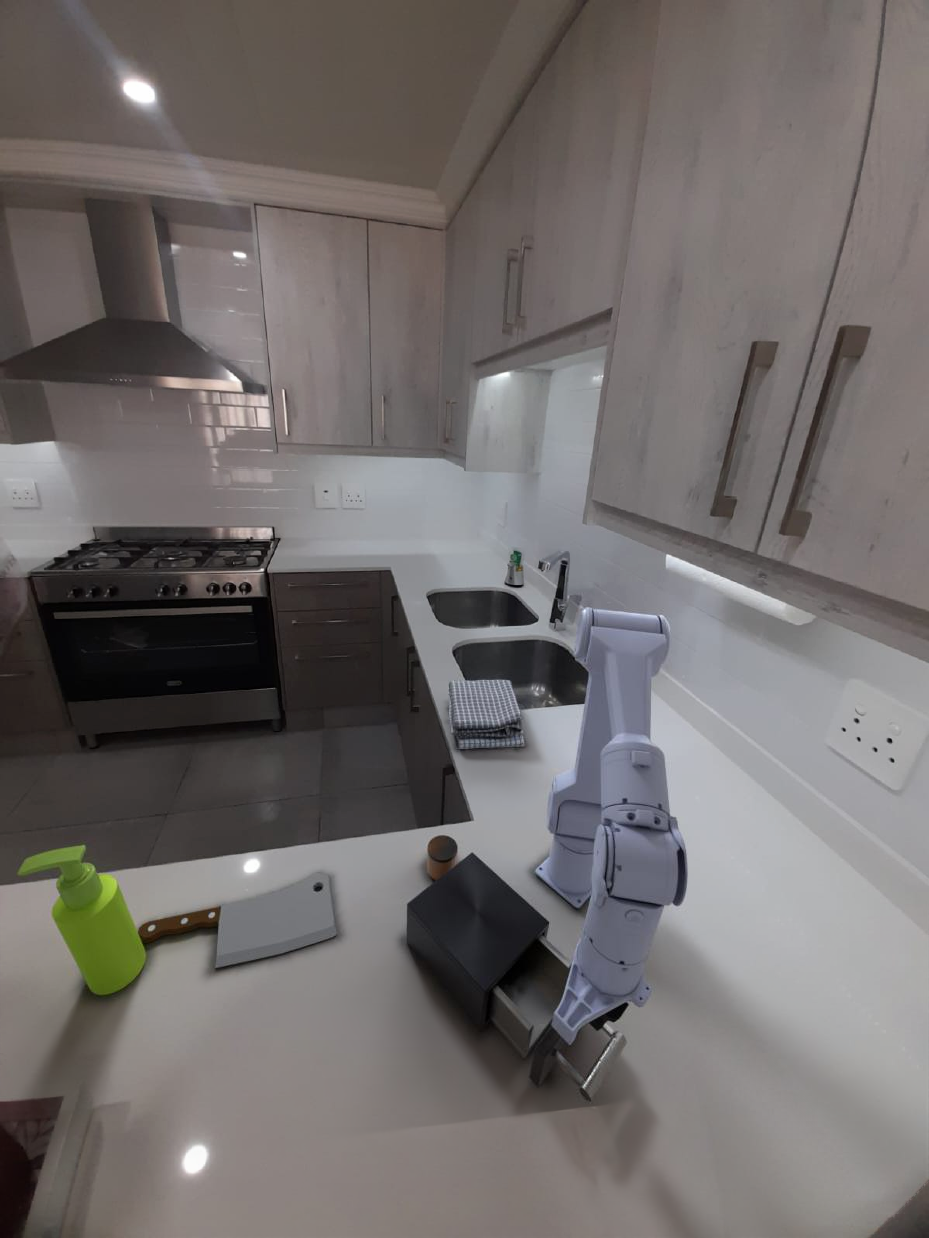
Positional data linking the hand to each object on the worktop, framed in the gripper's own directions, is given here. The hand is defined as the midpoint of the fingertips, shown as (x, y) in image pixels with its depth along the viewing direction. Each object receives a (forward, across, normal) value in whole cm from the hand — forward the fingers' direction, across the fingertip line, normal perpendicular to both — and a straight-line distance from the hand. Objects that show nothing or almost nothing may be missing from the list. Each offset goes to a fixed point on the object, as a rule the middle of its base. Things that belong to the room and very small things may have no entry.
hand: (592, 1017), depth 49 cm
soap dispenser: (+9, -34, +44) cm, 57 cm away
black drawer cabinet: (+9, 0, +16) cm, 19 cm away
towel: (+9, +36, +49) cm, 62 cm away
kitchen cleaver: (+9, -21, +39) cm, 45 cm away
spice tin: (+9, +5, +28) cm, 30 cm away
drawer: (+8, 0, +6) cm, 10 cm away
